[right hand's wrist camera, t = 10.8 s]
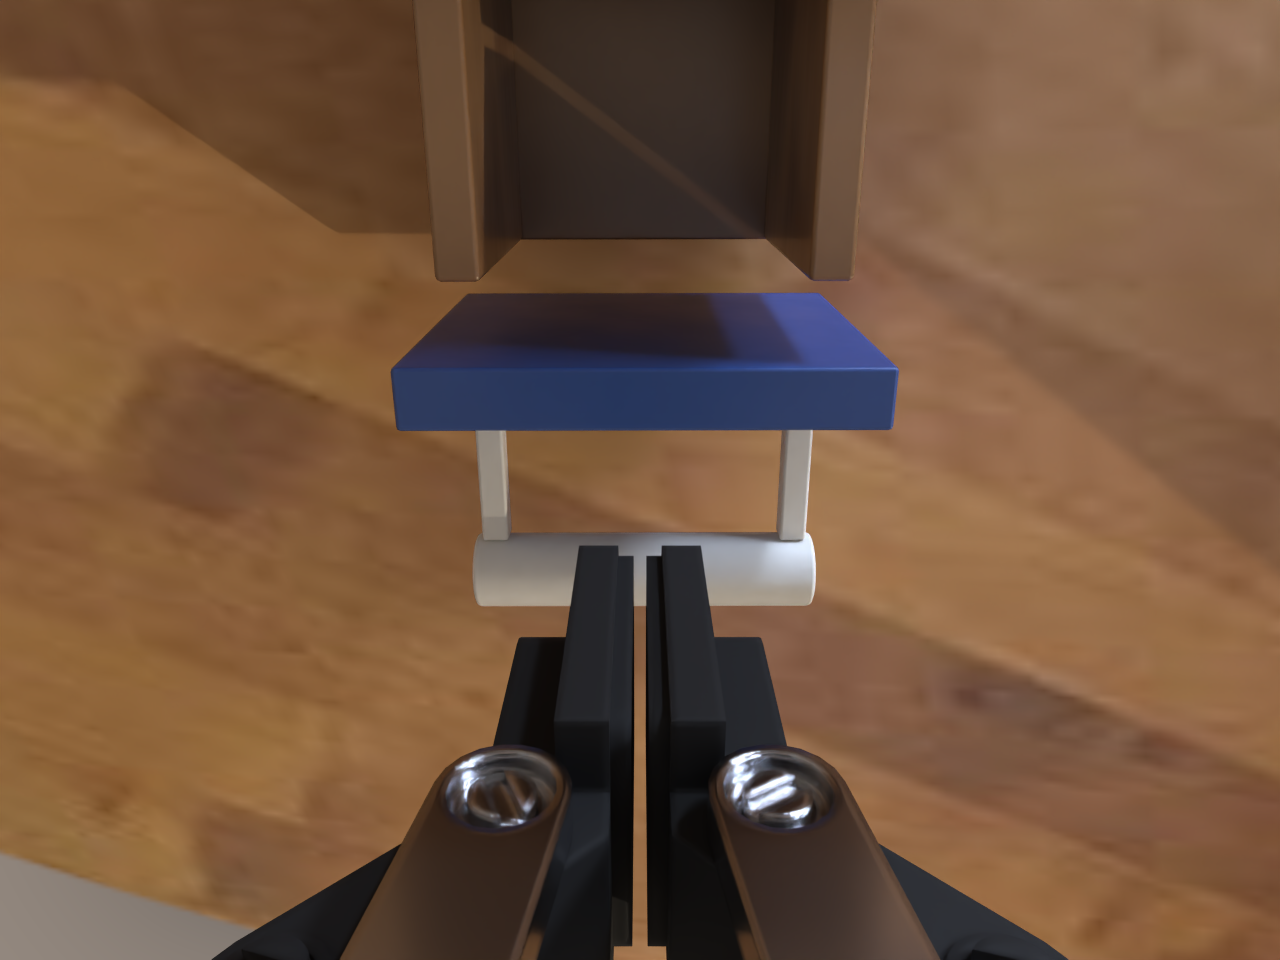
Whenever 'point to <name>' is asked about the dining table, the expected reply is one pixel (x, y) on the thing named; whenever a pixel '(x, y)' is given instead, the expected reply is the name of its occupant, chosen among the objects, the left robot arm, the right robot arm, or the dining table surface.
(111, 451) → the dining table surface
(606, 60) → the drawer
